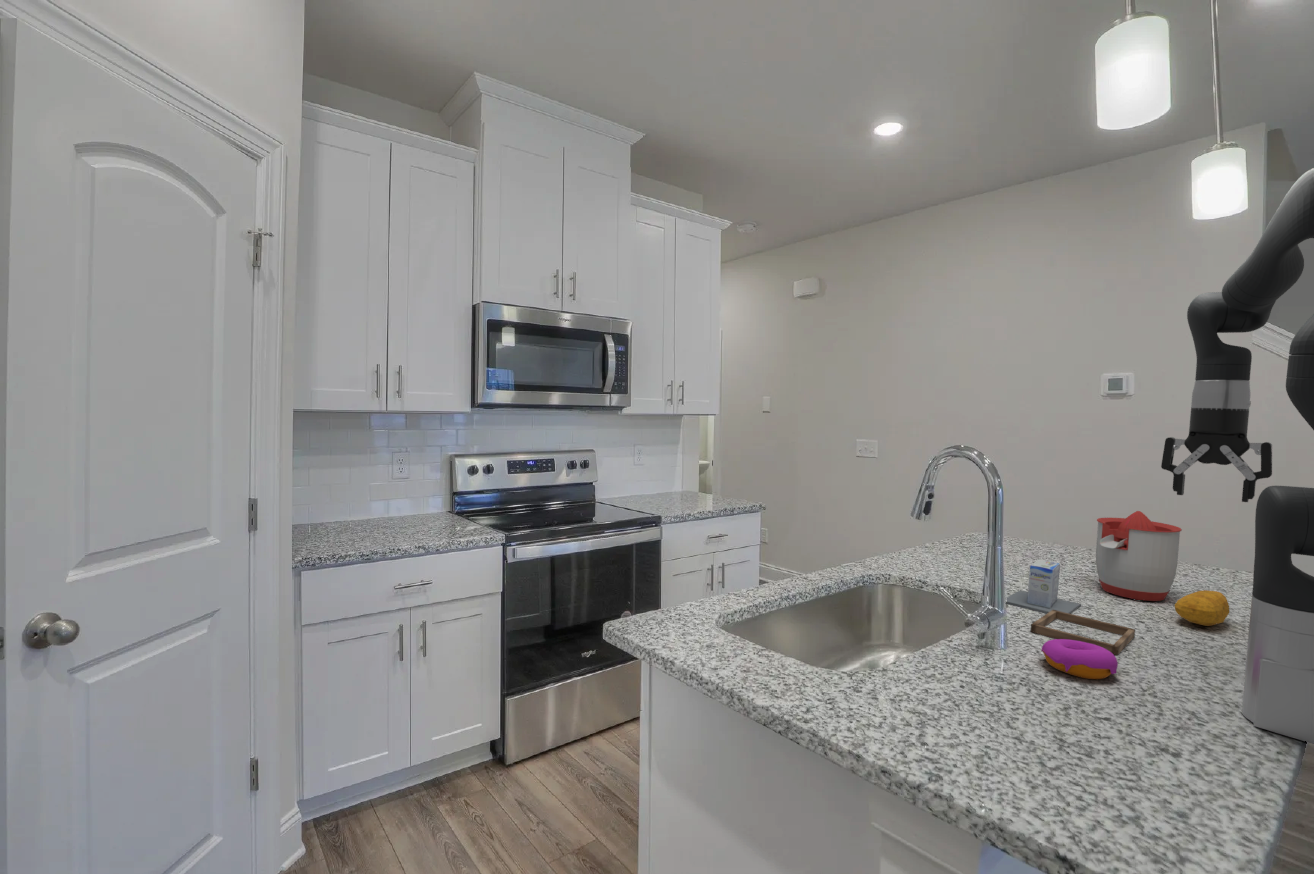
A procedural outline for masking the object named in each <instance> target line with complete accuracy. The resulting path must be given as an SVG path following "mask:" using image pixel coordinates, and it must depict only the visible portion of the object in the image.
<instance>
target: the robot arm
mask: <svg viewBox="0 0 1314 874" xmlns="http://www.w3.org/2000/svg"><path fill="white" fill-rule="evenodd" d="M1309 239H1314V167H1313V168H1310V169H1309V170H1307V171H1306V172H1304V173H1303V174H1302V175H1301V176H1300V177H1298V179H1297V180H1296V181H1295V182H1294V184H1293V185H1292V186H1291V187H1290V189H1289V190H1288V191H1287V193H1286V194H1285V196H1284V198H1283V199H1282V201H1281V202H1280V204H1279V206H1278V208H1277V209H1276V211H1275V213H1274V214H1273V216H1272V217H1271V219H1270V221H1269V222H1268V224H1267V226H1266V228H1265V230H1264V231H1263V233H1262V235H1261V237H1260V238H1259V241H1258V242H1257V244H1256V245H1255V248H1254V249H1253V251H1252V252H1251V253H1250V254H1249V256H1248V257H1247V258H1246V259H1245V260H1244V262H1243V263H1242V264H1241V265H1240V266H1239V267H1238V268H1237V269H1236V270H1235V271H1234V273H1233V274H1231V276H1229V278H1228V279H1227V280H1226V281H1225V282H1224V285H1223V286H1222V289H1221V291H1216V292H1214V291H1213V292H1203V293H1200V294H1198V295H1196V296H1195V298H1193V299H1192V301H1191V302H1190V304H1189V306H1188V307H1187V312H1186V319H1187V323H1188V327H1189V329H1190V333H1191V337H1192V340H1193V344H1194V350H1195V353H1196V354H1195V355H1196V356H1195V357H1196V364H1195V378H1194V380H1195V382H1194V385H1193V390H1192V392H1191V393H1192V394H1191V403H1190V405H1191V406H1190V415H1189V417H1190V418H1189V428H1188V436H1187V437H1186V439H1185V438H1183V439H1182V438H1176V437H1173V436H1171V437H1167V438H1165V440H1164V446H1163V453H1162V459H1161V465H1160V467H1161V469H1162V470H1165V471H1168V472H1170V473H1172V474H1173V479H1172V490H1173V492H1176V495H1177V496H1184V494H1185V482H1186V474H1185V472H1186V471H1187V470H1188V469H1190V467H1192V466H1193V465H1195V464H1196V463H1197V462H1199V463H1201V464H1203V465H1204V464H1206V465H1207V464H1216V465H1219V466H1221V465H1222V466H1227V465H1231V464H1232V465H1233V467H1235V468H1236V470H1238V471H1239V472H1240V474H1241V475H1243V476H1244V478H1245V479H1244V480H1243V485H1242V493H1241V502H1242V503H1249V500H1253V499H1254V497H1255V495H1256V494H1255V493H1256V484H1257V483H1256V482H1257V481H1258V480H1262V479H1268V478H1270V477H1272V476H1273V444H1272V442H1269V441H1265V442H1249V440H1248V431H1249V430H1248V427H1249V419H1250V418H1249V417H1250V416H1249V415H1250V407H1251V404H1252V403H1251V402H1252V401H1251V384H1250V382H1251V381H1250V380H1251V368H1252V359H1253V358H1252V351H1251V350H1250V349H1249V348H1248V347H1245V346H1238V345H1233V344H1227V343H1225V342H1223V340H1221V338H1220V337H1219V335H1218V333H1219V334H1222V333H1223V334H1224V333H1225V334H1226V333H1227V334H1228V333H1229V334H1230V333H1232V334H1234V333H1235V334H1236V333H1250V332H1254V331H1257V330H1259V329H1261V328H1262V327H1264V326H1266V324H1267V323H1268V321H1269V318H1270V316H1271V313H1272V309H1273V307H1274V306H1275V303H1276V302H1277V300H1278V299H1279V298H1281V297H1282V296H1283V295H1284V294H1285V293H1286V292H1287V291H1288V290H1290V288H1292V287H1293V286H1294V285H1295V284H1296V283H1297V282H1298V280H1299V279H1300V278H1301V276H1302V274H1303V271H1304V270H1305V269H1304V268H1305V259H1304V255H1303V253H1302V250H1301V248H1300V247H1299V244H1300V243H1302V242H1304V241H1306V240H1309ZM1287 359H1288V360H1287V370H1286V378H1285V379H1286V380H1285V390H1286V391H1285V392H1286V394H1287V396H1288V398H1289V400H1290V402H1291V403H1292V405H1293V406H1294V408H1295V409H1296V410H1297V412H1298V414H1299V415H1300V416H1301V417H1302V419H1304V421H1306V423H1307V424H1308V425H1309V427H1310V428H1311V429H1312V430H1313V431H1314V313H1313V314H1312V315H1311V316H1310V317H1309V318H1308V319H1307V320H1306V322H1304V324H1303V325H1302V326H1301V327H1300V328H1299V329H1298V330H1297V332H1296V333H1295V335H1294V336H1293V338H1292V340H1291V341H1290V345H1289V351H1288V358H1287ZM1183 445H1184V447H1185V448H1186V449H1187V450H1188V452H1189V453H1191V454H1190V455H1188V456H1187V457H1186V458H1185V459H1184V460H1183V461H1182V462H1181V463H1180V464H1178V465H1176V464H1173V461H1174V457H1175V455H1174V454H1175V451H1177V450H1179V449H1180V448H1181V446H1183ZM1250 449H1252V450H1253V451H1254V454H1255V455H1258V456H1260V470H1259V471H1254V470H1253V469H1252V468H1251V467H1250V466H1249V465H1248V463H1247V462H1246V461H1245V459H1244V458H1242V456H1243V455H1244V454H1245V453H1246V452H1247V451H1249V450H1250ZM1254 517H1255V518H1254V520H1255V521H1254V523H1255V524H1254V526H1255V527H1254V540H1255V541H1254V562H1253V575H1252V576H1253V577H1252V580H1253V581H1252V591H1251V595H1252V596H1251V603H1250V615H1249V624H1248V634H1247V635H1248V636H1247V647H1246V656H1245V657H1246V658H1245V667H1244V668H1245V669H1244V678H1243V679H1244V680H1243V690H1242V691H1243V692H1242V703H1241V704H1242V705H1241V713H1242V715H1243V717H1245V718H1246V719H1247V720H1249V721H1250V722H1252V723H1253V726H1254V727H1256V728H1260V729H1263V730H1267V731H1270V732H1273V733H1276V734H1279V735H1283V736H1286V737H1289V738H1293V739H1296V740H1299V741H1303V742H1305V741H1306V743H1308V744H1312V745H1314V576H1313V575H1310V574H1308V573H1307V572H1305V571H1303V570H1301V569H1300V568H1298V567H1296V566H1295V565H1294V564H1293V560H1292V554H1293V555H1300V556H1310V557H1314V487H1304V486H1303V487H1302V486H1290V485H1269V486H1267V487H1265V488H1264V489H1263V490H1262V491H1261V492H1260V493H1259V495H1258V498H1257V501H1256V507H1255V516H1254Z"/></svg>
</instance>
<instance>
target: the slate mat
mask: <svg viewBox="0 0 1314 874" xmlns="http://www.w3.org/2000/svg"><path fill="white" fill-rule="evenodd" d="M1006 598H1007V605H1010V606H1013V607H1018V608H1019V607H1020V608H1023V609H1026V610H1030V611H1035V612H1039V613H1043V614H1045V615H1046V614H1047V613H1049V612H1050V611H1052V610H1057V611H1061V612H1065V613H1069V614H1073V612H1075V611H1076V610H1078V608H1080V607H1082V603H1080V602H1079V603H1078V602H1074V601H1069V600H1065V599H1061V598H1057V600H1056V601H1055V602H1054V604H1053V605H1052V606H1051V608H1045V607H1040V606H1036V605H1032V604H1028V603H1027V600H1028V591H1026V590H1022V589H1020V590H1018V591H1016V592H1014V593H1012V594H1010V595H1009V596H1007V597H1006Z"/></svg>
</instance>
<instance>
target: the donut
mask: <svg viewBox="0 0 1314 874" xmlns="http://www.w3.org/2000/svg"><path fill="white" fill-rule="evenodd" d="M1041 652H1043V653H1042V654H1043V655H1044V657H1045V660H1046V662H1047V664H1049V665H1050V666H1051V667H1052V668H1054V669H1056V670H1058V671H1061V672H1063V673H1065V674H1068V675H1070V676H1074V677H1079V678H1082V679H1085V680H1086V679H1088V680H1102V679H1105V678H1107V677H1110V675H1114V674H1117V670H1118V666H1119V663H1118V660H1117V659H1118V658H1117V657H1116V655H1114V654H1112V653H1111V652H1110V651H1108V650H1107V649H1105V648H1103V647H1100V646H1097V645H1094V644H1090V643H1086V642H1081V641H1076V640H1068V639H1055V638H1053V639H1049V640H1047V641H1045V642H1044V643H1043V645H1042V647H1041Z"/></svg>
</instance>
